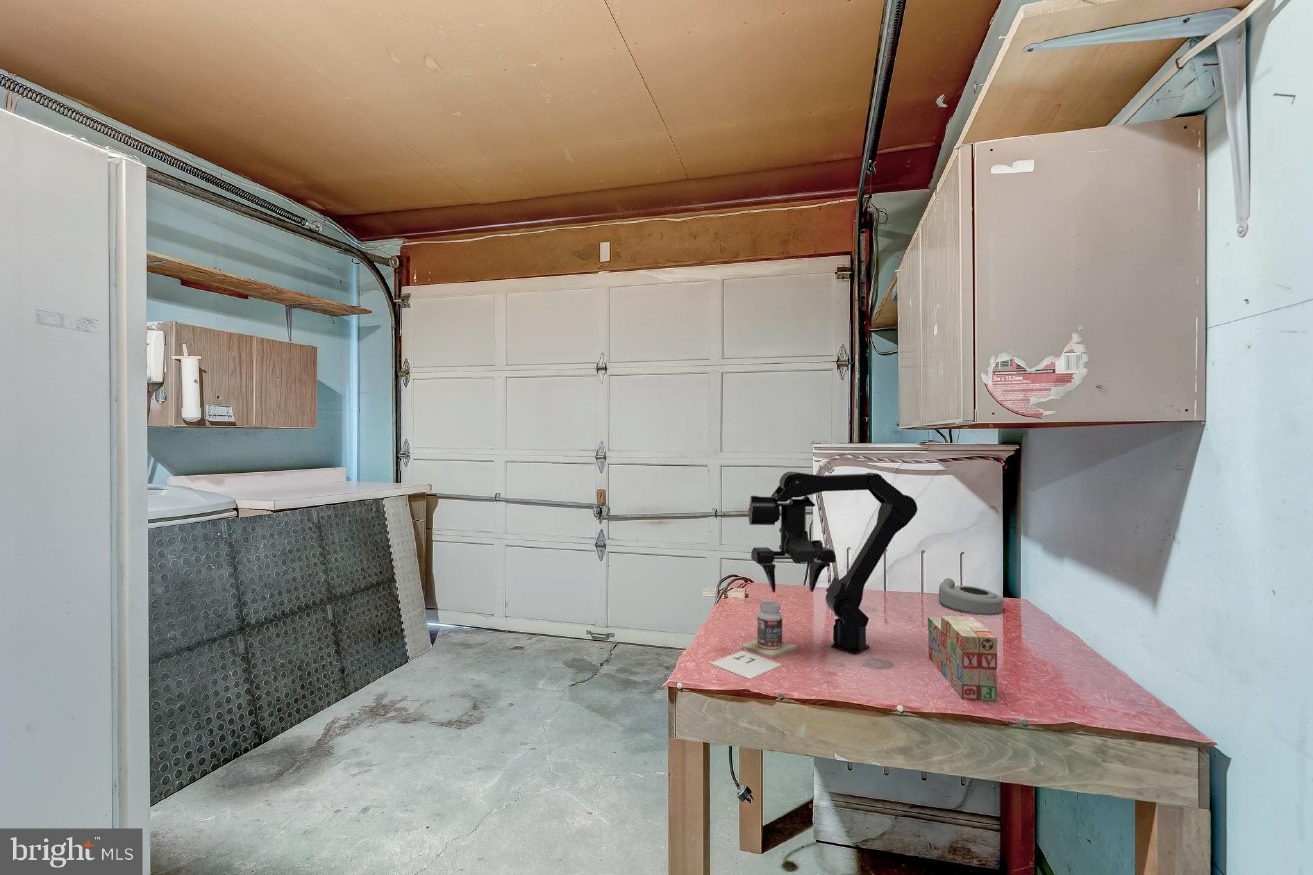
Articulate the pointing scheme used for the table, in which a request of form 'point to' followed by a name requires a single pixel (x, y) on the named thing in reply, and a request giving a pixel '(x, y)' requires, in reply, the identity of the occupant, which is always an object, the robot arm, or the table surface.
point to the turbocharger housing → (969, 599)
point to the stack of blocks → (964, 655)
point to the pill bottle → (769, 625)
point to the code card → (746, 664)
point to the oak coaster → (769, 653)
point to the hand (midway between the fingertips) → (792, 591)
